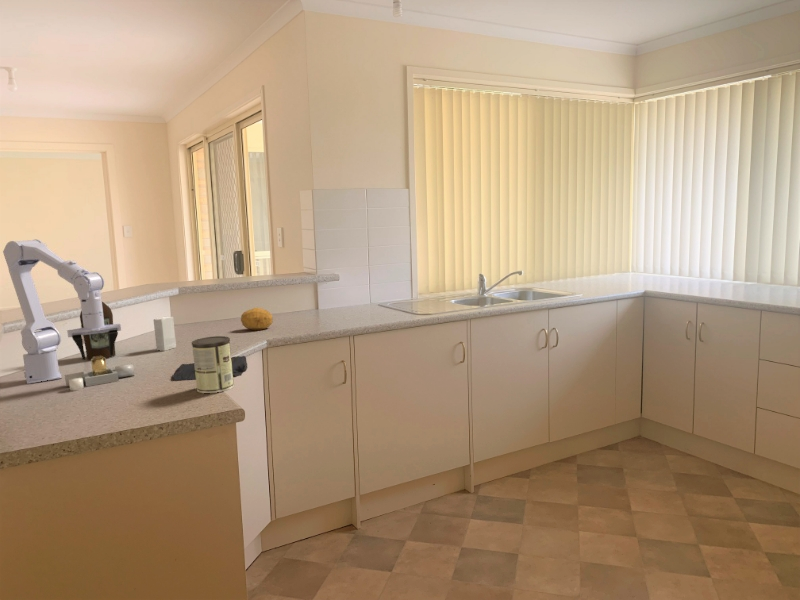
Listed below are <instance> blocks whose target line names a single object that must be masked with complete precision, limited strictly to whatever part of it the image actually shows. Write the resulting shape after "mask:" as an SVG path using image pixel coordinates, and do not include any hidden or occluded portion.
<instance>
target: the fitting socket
mask: <svg viewBox="0 0 800 600" xmlns="http://www.w3.org/2000/svg"><path fill="white" fill-rule="evenodd" d="M132 376H135V368H134V364H133V363H131V364H130V363H129V364H124V365H118V366H114V367H110V368H108V367H107V374H104V375H98V376H93V373H92V370H91V371H80V372H74V373H69V374H64V380H65V387H70V386H69V380H70V379H74V378H83V385H85V387H86V388H87V387H91V386H98V385H103V384H108V383H109V384H111V383H115V382H119V381H120V380H119V379H121V378H126V377H132Z"/></svg>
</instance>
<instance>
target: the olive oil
mask: <svg viewBox="0 0 800 600" xmlns="http://www.w3.org/2000/svg"><path fill="white" fill-rule="evenodd" d="M102 308H103V317H104V325H112V324H114V316H113V315H114V314H113V311H112V309H111V308H110V307H109V305H107V304H106V303H105V302H104V301H102ZM79 320H80V325H81V328H84V326H83V318H82V310H80V314H79ZM101 331H102V330H101ZM94 332H96V331H94ZM88 333H89V332H88ZM82 338H83V343H84V347H85V353H86V354H85V356H86V359H87V358H88V359H93V357H95V356H103V357H105V358H106V359H110V358H109V357H111V358H113V357H115V356H116V345H115V344H116V343H115V344H114V349H113V355H110V352H109V339H108V332H103V333H96V334H88V335H82ZM112 356H113V357H112ZM88 359H87V360H88Z"/></svg>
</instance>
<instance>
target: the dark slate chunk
mask: <svg viewBox="0 0 800 600" xmlns="http://www.w3.org/2000/svg"><path fill="white" fill-rule="evenodd" d="M231 361H232V371H233V378H237V377H240V376H242V375H243V373H245V372H246V371H247V370H248V362H247V357H246V356H245V355H241V356H231ZM171 379H172V380H171V381H173V382H183V381H196V374H195V365H194V362H192V363H182V364H180V365H179V367H178V368H176V370H175V371H174V373H173V375H172V377H171Z"/></svg>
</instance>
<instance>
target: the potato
mask: <svg viewBox="0 0 800 600" xmlns="http://www.w3.org/2000/svg"><path fill="white" fill-rule="evenodd" d="M240 317H241V318H240V322H241V325H242V326H243V327H244V328H246V329H248V330H251V331H260V330H265V329H267V328H269V327H270V326H271V325H272V323H274V322H273V319H274V318H273V315H272V313H271V312H269V310H267V309H263V308H260V307H254V308H251V309H248V310H246V311H244V312H243V313H242V314H241V315H240Z"/></svg>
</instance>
